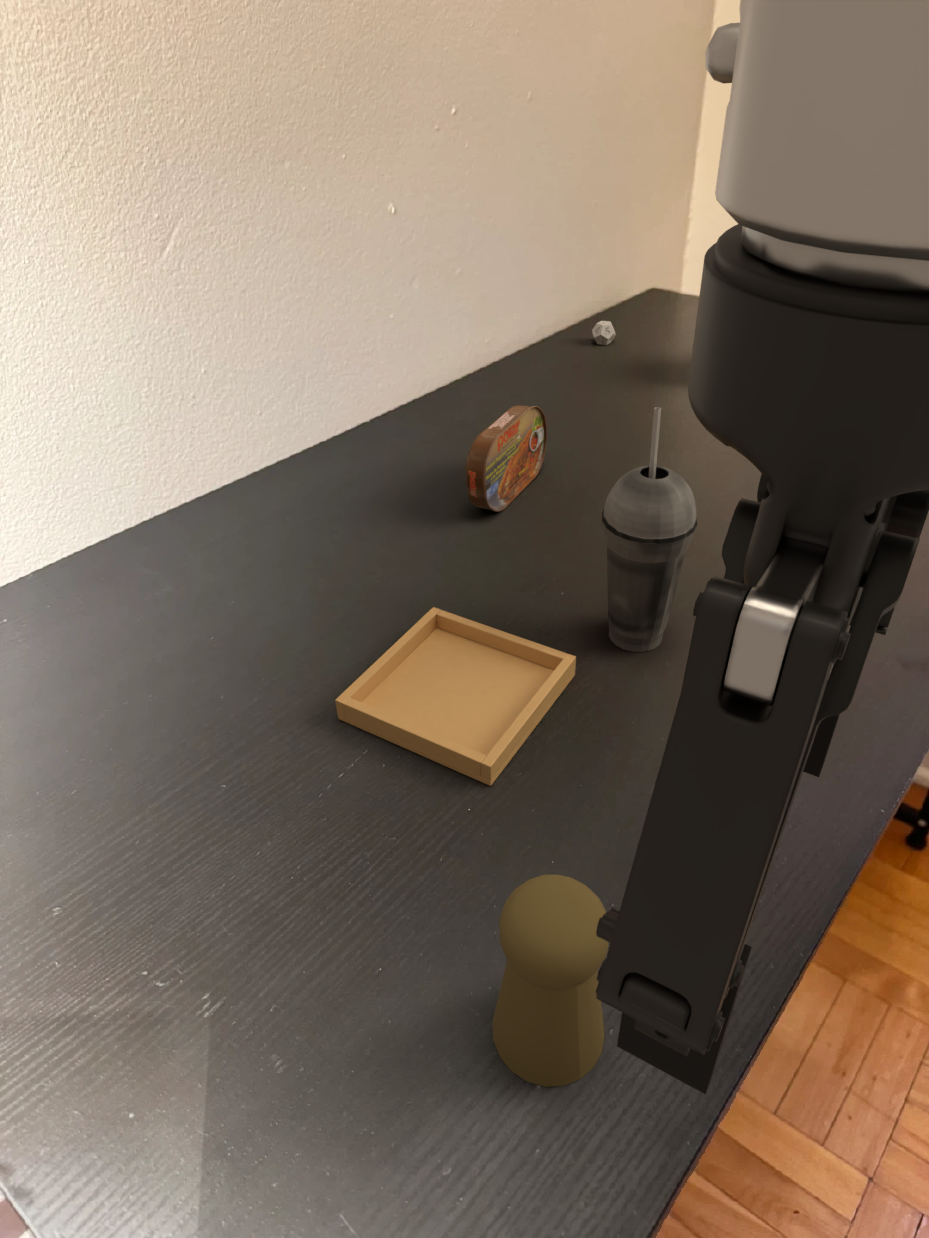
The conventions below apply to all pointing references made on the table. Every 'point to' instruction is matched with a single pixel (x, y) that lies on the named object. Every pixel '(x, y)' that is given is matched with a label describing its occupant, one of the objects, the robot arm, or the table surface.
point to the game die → (603, 332)
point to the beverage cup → (645, 549)
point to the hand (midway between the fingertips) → (734, 886)
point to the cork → (550, 981)
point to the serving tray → (458, 693)
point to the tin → (506, 457)
